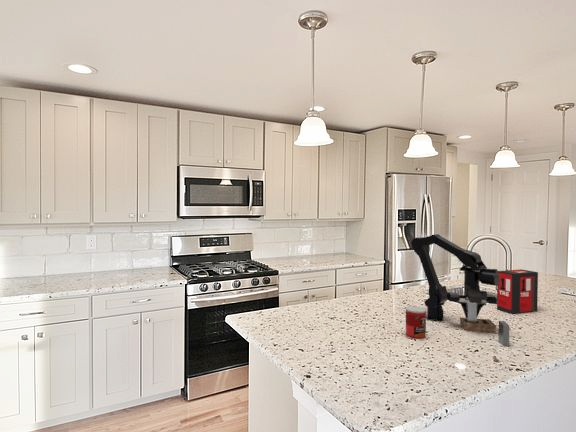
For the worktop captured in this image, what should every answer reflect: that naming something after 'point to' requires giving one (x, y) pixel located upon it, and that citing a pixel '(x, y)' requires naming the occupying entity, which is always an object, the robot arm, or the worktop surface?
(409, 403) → the worktop surface
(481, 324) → the brown wooden slotted frame
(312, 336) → the worktop surface
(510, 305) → the cleaning product box
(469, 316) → the square bit
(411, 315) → the canned food
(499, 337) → the grey rectangular block
